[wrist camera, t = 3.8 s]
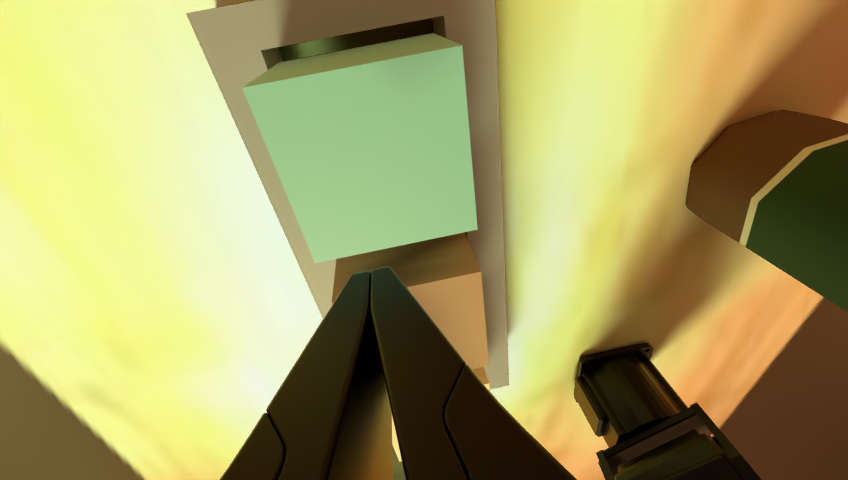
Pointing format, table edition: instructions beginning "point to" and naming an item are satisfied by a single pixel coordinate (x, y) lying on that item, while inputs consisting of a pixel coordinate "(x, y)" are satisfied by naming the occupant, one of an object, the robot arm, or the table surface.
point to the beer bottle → (781, 195)
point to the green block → (371, 144)
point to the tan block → (435, 287)
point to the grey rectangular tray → (348, 13)
